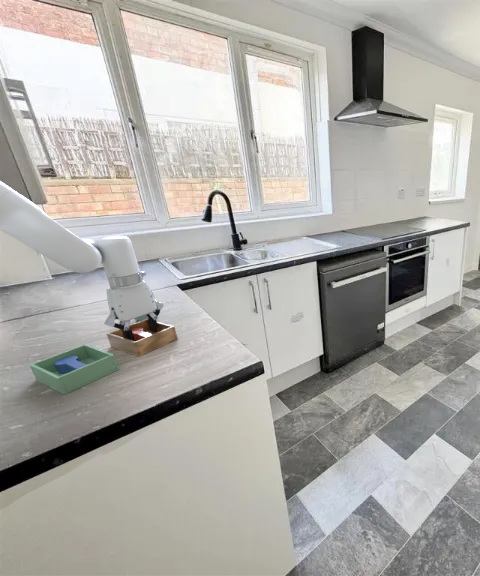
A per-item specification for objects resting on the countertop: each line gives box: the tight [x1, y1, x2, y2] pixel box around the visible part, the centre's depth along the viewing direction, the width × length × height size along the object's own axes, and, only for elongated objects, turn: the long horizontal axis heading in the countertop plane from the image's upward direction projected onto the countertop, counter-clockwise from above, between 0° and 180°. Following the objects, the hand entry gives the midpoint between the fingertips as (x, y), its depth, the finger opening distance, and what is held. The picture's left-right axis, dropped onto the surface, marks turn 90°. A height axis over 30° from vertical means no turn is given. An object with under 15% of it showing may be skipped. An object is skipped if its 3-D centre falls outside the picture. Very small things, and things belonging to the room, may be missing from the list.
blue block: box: [54, 356, 86, 374], centre depth 79 cm, size 11×4×3 cm, turn 66°
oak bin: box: [106, 319, 179, 358], centre depth 94 cm, size 11×14×4 cm
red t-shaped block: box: [131, 328, 153, 342], centre depth 95 cm, size 11×4×3 cm, turn 66°
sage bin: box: [29, 343, 120, 395], centre depth 79 cm, size 11×14×4 cm
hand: (142, 335), depth 94 cm, fingers open, 5 cm apart
